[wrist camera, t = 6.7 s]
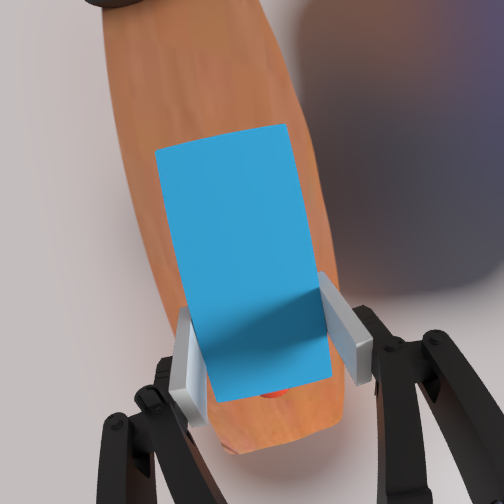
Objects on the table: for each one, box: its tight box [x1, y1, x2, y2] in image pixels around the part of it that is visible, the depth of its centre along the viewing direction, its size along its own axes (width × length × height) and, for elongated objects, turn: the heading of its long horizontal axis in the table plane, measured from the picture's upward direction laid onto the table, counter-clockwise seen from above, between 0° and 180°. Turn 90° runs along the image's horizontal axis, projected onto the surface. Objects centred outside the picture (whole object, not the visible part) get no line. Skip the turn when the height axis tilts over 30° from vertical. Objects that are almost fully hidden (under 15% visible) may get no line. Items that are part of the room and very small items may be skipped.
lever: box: [155, 124, 332, 402], centre depth 19 cm, size 7×7×18 cm
